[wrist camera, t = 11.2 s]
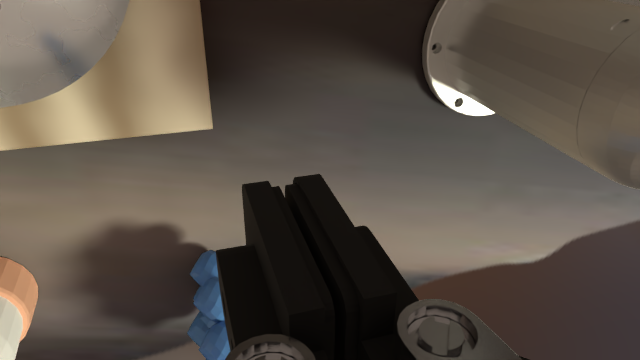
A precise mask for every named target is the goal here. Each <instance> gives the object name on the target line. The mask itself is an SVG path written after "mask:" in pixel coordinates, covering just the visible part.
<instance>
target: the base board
mask: <svg viewBox="0 0 640 360" xmlns="http://www.w3.org/2000/svg"><path fill="white" fill-rule="evenodd" d="M204 129H213V125H212V115H211V106H210V96H209V86H208V76H207V67H206V57H205V47H204V37H203V28H202V18H201V8H200V0H129V4H128V7H127V11H126V14H125V17H124V21H123V23H122V25H121V27H120V29H119V31H118V33H117V36H116V38H115V39H114V41H113V42H112V44H111V45H110V47H109V48H108V50H107V51H106V53H105V54H104V56H103V57H102V58H101V59H100V60H99V61H98V62H97V63H96V64H95V65H94V66H93V68H92V69H91V70H89V71H88V72H87V73H86V74H84V75H83V76H82V77H81V78H79V79H78V80H77V81H76V82H74V83H72V84H71V85H69V86H67V87H66V88H64V89H62V90H60V91H59V92H56V93H54V94H51V95H49V96H47V97H44V98H42V99H39V100H36V101H32V102H28V103H25V104H21V105H16V106H9V107H3V108H0V151H1V150H11V149H21V148H30V147H40V146H50V145H59V144H69V143H79V142H88V141H98V140H108V139H117V138H127V137H137V136H146V135H156V134H166V133H175V132H185V131H195V130H204Z"/></svg>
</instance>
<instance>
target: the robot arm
mask: <svg viewBox="0 0 640 360" xmlns="http://www.w3.org/2000/svg"><path fill="white" fill-rule="evenodd" d="M433 45H434V46H433ZM432 47H433V48H432ZM422 65H423V70H424V74H425V78H426V81H427V83H428V85H429V87H430V89H431V91H432V92H433V94H434V95H435V96H436V98H437V99H438V100H440V101H441V102H442V103H443V104H444V105H446V106H447V107H449V108H450V109H452V110H453V111H455V112H458V113H461V114H464V115H469V116H484V115H491V114H494V113H496V114H498V115H500V116H501V117H503V118H505V119H507V120H508V121H510V122H512V123H513V124H515V125H517V126H519V127H520V128H522V129H524V130H525V131H527V132H529V133H531V134H532V135H534V136H536V137H538V138H539V139H541V140H543V141H544V142H546V143H548V144H550V145H551V146H553V147H555V148H556V149H558V150H560V151H562V152H563V153H565V154H567V155H568V156H570V157H572V158H574V159H575V160H577V161H579V162H581V163H582V164H584V165H586V166H588V167H589V168H591V169H593V170H595V171H596V172H598V173H600V174H602V175H603V176H605V177H607V178H609V179H611V180H613V181H615V182H617V183H619V184H621V185H625V186H628V187H631V188H635V189H640V6H635V5H629V4H624V3H619V2H614V1H609V0H440V1H439V2H438V3H437V5H436V7H435V9H434V11H433V13H432V15H431V17H430V19H429V22H428V25H427V28H426V31H425V34H424V41H423V47H422ZM242 196H243V209H244V222H245V235H246V245H245V246H239V247H233V248H227V249H221V250H216V261H217V270H218V278H219V287H220V294H221V301H222V307H223V314H224V320H225V325H226V330H227V336H228V341H229V347H230V352H229V354H228V355H227V357H226V358H225V360H529V359H526V358H523V357H520V356H518V355H517V354H515V352H514V351H513V350H511V349H510V348H509V347H508V346H507V345H506V344H505V343H504V342H503V341H502V340H501V339H500V338H499V337H498V336H497V335H496V334H495V333H494V332H492V330H491V329H490V328H489V327H487V326H486V325H485V324H484V323H483V322H482V321H481V320H480V319H479V318H478V317H477V316H475V315H474V314H473V313H472V312H470V311H469V310H468V309H466V308H464V307H462V306H460V305H458V304H456V303H453V302H449V301H445V300H438V299H427V300H422V301H419V300H418V299H417V297H416V296H415V294H414V293H413V291H412V290H411V289H410V287H409V286H408V284H407V283H406V281H405V280H404V278H403V277H402V276H401V274H400V273H399V271H398V270H397V268H396V267H395V265H394V264H393V263H392V261H391V260H390V258H389V257H388V255H387V254H386V253H385V251H384V250H383V248H382V247H381V245H380V244H379V242H378V241H377V240H376V238H375V237H374V235H373V234H372V232H371V231H370V230H369V229H368V228H367V227H366V226H358V227H354V225H353V224H352V222H351V221H350V219H349V217H348V216H347V214H346V213H345V211H344V210H343V208H342V207H341V205H340V204H339V202H338V201H337V199H336V198H335V196H334V194H333V193H332V191H331V190H330V188H329V187H328V185H327V184H326V182H325V181H324V179H323V178H322V176H321V175H320V174H316V175H308V176H301V177H295V178H294V180H293V184H291V185H286V186H285V197H284V195H283V193H282V191H281V189H280V187H279V186H276V187H271V185H270V183H269V181H264V182H257V183H249V184H243V185H242Z"/></svg>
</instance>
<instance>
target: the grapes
mask: <svg viewBox="0 0 640 360" xmlns="http://www.w3.org/2000/svg"><path fill="white" fill-rule="evenodd" d="M190 275H191V277H192V278H193V279H194V280H195V281H196V282H197V283H198V284H199V285H200V287H199V288H198V290H197V292H196V294H195V296H194V298H193V299H194V302H193V304H194V305H195V306H196V307H197V308H198V310H199V311H200V312H199V313H198V315H197V316H196V318H195V319H194V321H193V323H192V324H191V326H190V328H189V331H188V333H187V334H188V335H189V336H190V337H191V339H192V340H193V341H194V342H195V343H196V344H197V345H198V346H199V347H200V348H199V351H200V352H201V353H202V354H203V356H204V357H205V358H206V360H225V358H226V357H227V355H228V354H229V352H230V347H229V341H228V336H227V330H226V325H225V320H224V314H223V307H222V301H221V294H220V287H219V278H218V270H217V261H216V252H215V251H213V250H209V251H207V252H204V253H202V254H201V256H200V257H199V259H198V260H197V262H196V264H195V265H194V267H193V269H192V271H191V273H190Z"/></svg>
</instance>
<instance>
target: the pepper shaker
mask: <svg viewBox="0 0 640 360" xmlns="http://www.w3.org/2000/svg"><path fill="white" fill-rule="evenodd" d="M37 299H38V285H37V283H36V281H35V279H34V277H33V275H32V274H31V273H30V272H29V271H28V270H27V269H26V268H24V267H23V266H22V265H20V264H18V263H16V262H14V261H12V260H10V259H8V258H4V257H0V360H15V357H16V353H17V349H18V345H19V342H20V341H21V340H22V339H23V338H24V337H25V335H26V333H27V331H28V329H29V327H30V324H31V320H32V317H33V313H34V310H35V306H36V303H37Z"/></svg>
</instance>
